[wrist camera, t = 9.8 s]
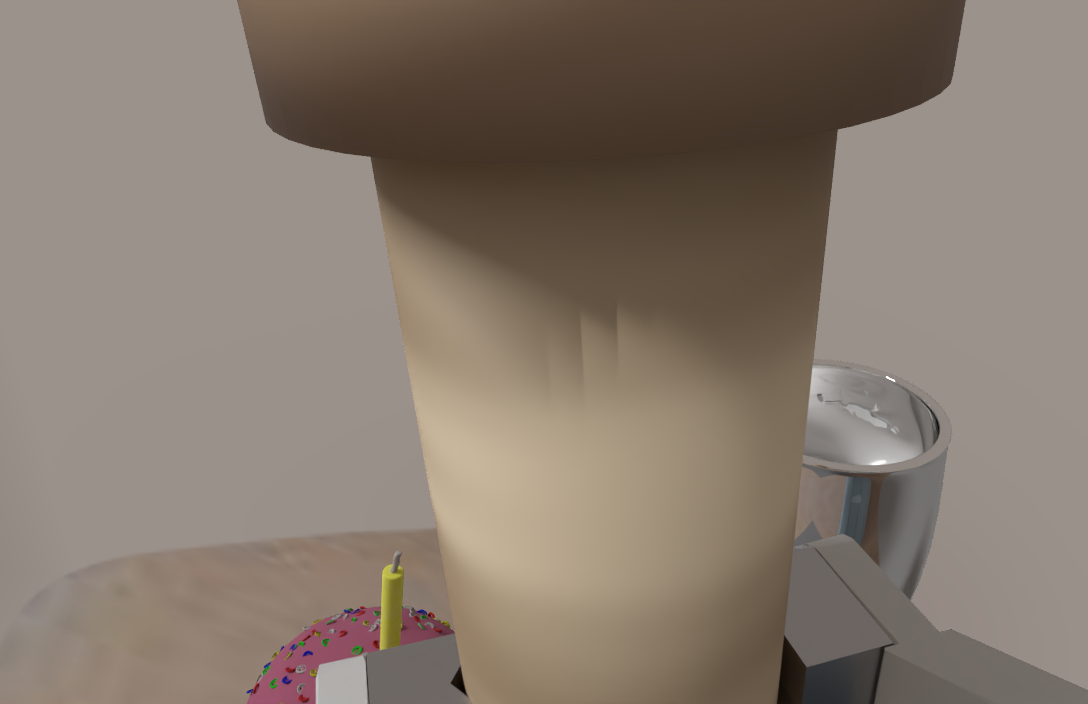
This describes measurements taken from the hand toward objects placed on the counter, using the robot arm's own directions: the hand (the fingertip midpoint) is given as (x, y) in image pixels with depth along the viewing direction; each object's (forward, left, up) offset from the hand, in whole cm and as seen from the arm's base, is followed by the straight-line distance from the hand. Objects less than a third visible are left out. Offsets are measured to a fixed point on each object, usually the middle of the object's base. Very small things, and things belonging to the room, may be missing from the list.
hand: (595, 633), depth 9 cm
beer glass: (+12, -11, -21) cm, 27 cm away
